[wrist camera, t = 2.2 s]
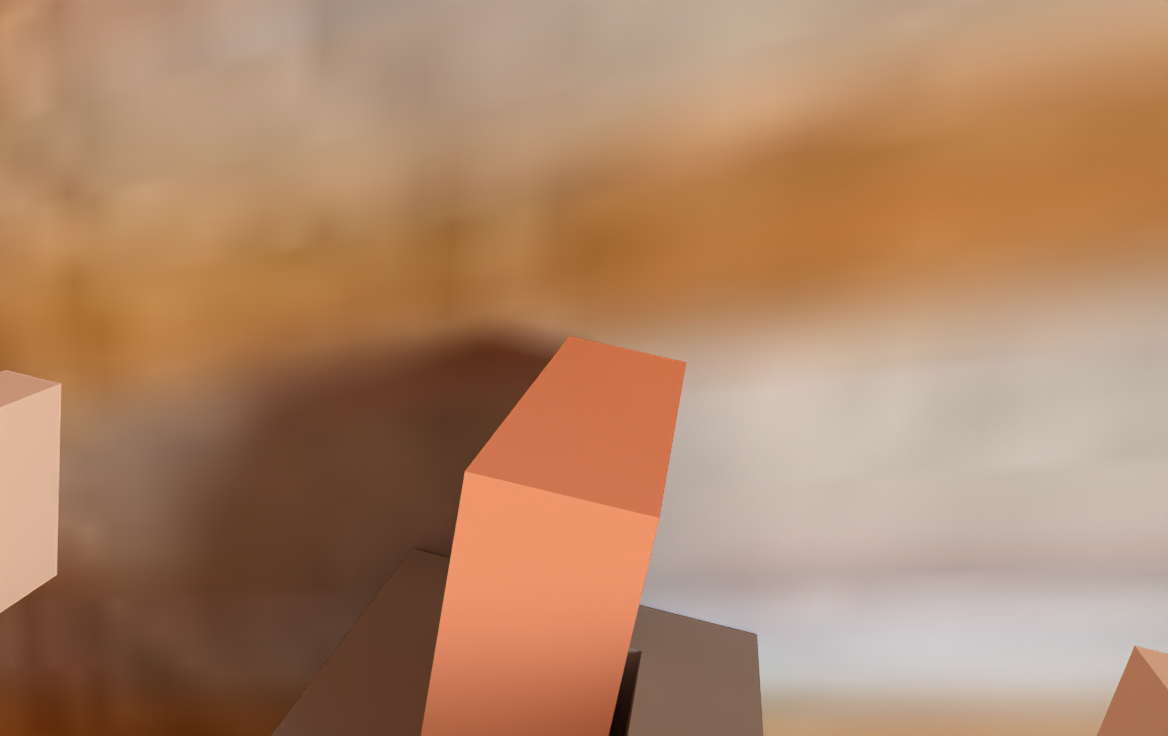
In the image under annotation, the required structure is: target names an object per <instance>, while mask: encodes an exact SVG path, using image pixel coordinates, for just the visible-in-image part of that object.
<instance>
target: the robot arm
mask: <svg viewBox="0 0 1168 736" xmlns="http://www.w3.org/2000/svg"><path fill="white" fill-rule="evenodd" d="M60 416H61V383H58V382H54V381H49V380H45V379H41V378H37V377H33V376H29V375H25V374H21V373H17V372H13V371H9V370H4V371H1V372H0V613H1V612H3V611H4V610H5V609H7V608H8V607H10V606H11V605H13V604H14V603H16V602H17V601H19V600H20V599H22V598H23V597H25V596H26V595H28V594H29V593H31V592H32V591H34V590H35V589H37V588H38V587H40V586H41V585H43V584H44V583H46V582H47V581H49V580H50V579H52V578H53V577H55V576H56V575H57V552H58V507H59V462H60ZM1097 736H1168V654H1166V653H1162V652H1158V651H1154V650H1150V649H1146V648H1142V647H1137V646H1134V649H1133V651H1132V654H1131V656H1130V658H1129V661H1128V663H1127V665H1126V668H1125V670H1124V673H1123V675H1122V677H1121V680H1120V682H1119V685H1118V687H1117V689H1116V692H1115V694H1114V696H1113V699H1112V701H1111V704H1110V706H1109V708H1108V711H1107V713H1106V715H1105V718H1104V720H1103V723H1102V725H1101V727H1100V730H1099V732H1098V734H1097Z"/></svg>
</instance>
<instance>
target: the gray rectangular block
mask: <svg viewBox="0 0 1168 736" xmlns="http://www.w3.org/2000/svg"><path fill="white" fill-rule="evenodd" d="M449 563H450V558H449V557H445V556H441V555H437V554H433V553H429V552H425V551H421V550H417V549H413V548H412V549H411V551H410V552H409V553H408V555H407V556H406V557H405V559H404V560H403V561H402V563H401V564H400V565H399V567H398V568H397V569H396V571H395V572H394V573H393V575H392V576H391V577H390V579H389V580H388V581H387V583H386V584H385V585H384V586H383V588H382V589H381V590H380V592H379V593H378V594H377V596H376V597H375V598H374V600H373V601H372V602H371V604H370V605H369V606H368V608H367V609H366V610H365V612H364V613H363V614H362V616H361V617H360V618H359V620H358V621H357V622H356V624H355V625H354V626H353V627H352V629H351V630H350V631H349V633H348V634H347V635H346V637H345V638H344V639H343V641H342V642H341V643H340V645H339V646H338V647H337V649H336V650H335V651H334V653H333V654H332V655H331V657H330V658H329V659H328V661H327V662H326V663H325V665H324V666H323V667H322V668H321V670H320V671H319V672H318V674H317V675H316V676H315V678H314V679H313V680H312V682H311V683H310V684H309V686H308V687H307V688H306V690H305V691H304V692H303V694H302V695H301V696H300V698H299V699H298V700H297V702H296V703H295V704H294V706H293V707H292V708H291V709H290V711H289V712H288V713H287V715H286V716H285V717H284V719H283V720H282V721H281V723H280V724H279V725H278V727H277V728H276V729H275V731H274V732H273V733H272V735H271V736H421V732H422V726H423V720H424V714H425V708H426V702H427V696H428V690H429V684H430V678H431V672H432V666H433V660H434V654H435V648H436V642H437V636H438V630H439V624H440V618H441V612H442V606H443V600H444V593H445V587H446V581H447V575H448V569H449ZM609 736H763V724H762V708H761V692H760V676H759V660H758V644H757V635H756V634H752V633H748V632H744V631H740V630H736V629H732V628H728V627H724V626H720V625H716V624H712V623H708V622H704V621H700V620H696V619H692V618H688V617H684V616H680V615H676V614H672V613H668V612H664V611H660V610H656V609H652V608H648V607H644V606H640V605H639V607H638V611H637V616H636V620H635V624H634V628H633V633H632V637H631V641H630V646H629V650H628V654H627V658H626V663H625V667H624V671H623V676H622V680H621V684H620V688H619V693H618V697H617V701H616V706H615V710H614V714H613V718H612V723H611V727H610V731H609Z"/></svg>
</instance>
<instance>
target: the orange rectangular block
mask: <svg viewBox="0 0 1168 736" xmlns="http://www.w3.org/2000/svg"><path fill="white" fill-rule="evenodd" d="M685 366H686V362H683V361H678V360H674V359H669V358H665V357H660V356H656V355H651V354H647V353H642V352H638V351H633V350H629V349H624V348H620V347H616V346H611V345H607V344H602V343H598V342H593V341H589V340H584V339H580V338H575V337H571V336H569V337H568V338H567V340H566V341H565V342H564V344H563V345H562V346H561V348H560V349H559V350H558V351H557V353H556V354H555V355H554V357H553V358H552V359H551V360H550V362H549V363H548V364H547V366H546V367H545V368H544V370H543V371H542V372H541V373H540V375H539V376H538V377H537V379H536V380H535V381H534V382H533V384H532V385H531V386H530V388H529V389H528V390H527V392H526V393H525V394H524V395H523V397H522V398H521V399H520V401H519V402H518V403H517V404H516V406H515V407H514V408H513V410H512V411H511V412H510V414H509V415H508V416H507V417H506V419H505V420H504V421H503V423H502V424H501V425H500V426H499V428H498V429H497V430H496V432H495V433H494V434H493V436H492V437H491V438H490V439H489V441H488V442H487V443H486V445H485V446H484V447H483V448H482V450H481V451H480V452H479V454H478V455H477V456H476V457H475V459H474V460H473V461H472V463H471V464H470V465H469V467H468V468H467V469H466V470H465V473H464V479H463V485H462V491H461V497H460V503H459V509H458V515H457V521H456V527H455V533H454V539H453V545H452V551H451V557H450V563H449V569H448V575H447V581H446V587H445V593H444V600H443V606H442V612H441V618H440V624H439V630H438V636H437V642H436V648H435V654H434V660H433V666H432V672H431V678H430V684H429V690H428V696H427V702H426V708H425V714H424V720H423V726H422V732H421V736H609V731H610V727H611V723H612V718H613V714H614V710H615V706H616V701H617V697H618V693H619V688H620V684H621V680H622V676H623V671H624V667H625V663H626V658H627V654H628V650H629V646H630V641H631V637H632V633H633V628H634V624H635V620H636V616H637V611H638V607H639V603H640V598H641V594H642V590H643V586H644V581H645V577H646V573H647V568H648V564H649V560H650V556H651V551H652V547H653V543H654V539H655V534H656V530H657V526H658V521H659V517H660V511H661V505H662V499H663V494H664V488H665V482H666V476H667V470H668V465H669V459H670V453H671V447H672V442H673V436H674V430H675V424H676V418H677V413H678V407H679V401H680V395H681V390H682V384H683V378H684V372H685Z"/></svg>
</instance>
